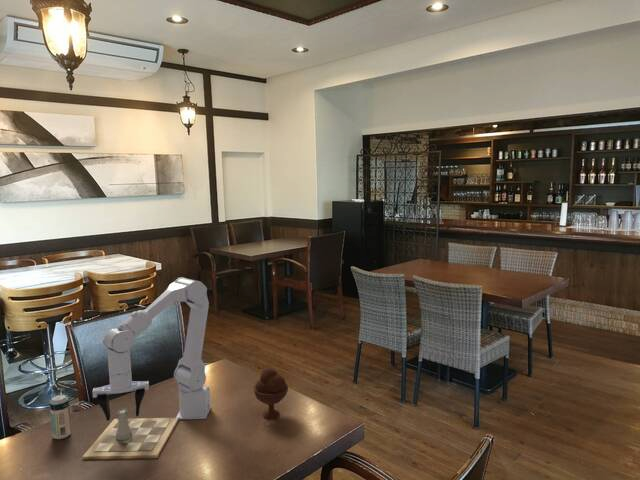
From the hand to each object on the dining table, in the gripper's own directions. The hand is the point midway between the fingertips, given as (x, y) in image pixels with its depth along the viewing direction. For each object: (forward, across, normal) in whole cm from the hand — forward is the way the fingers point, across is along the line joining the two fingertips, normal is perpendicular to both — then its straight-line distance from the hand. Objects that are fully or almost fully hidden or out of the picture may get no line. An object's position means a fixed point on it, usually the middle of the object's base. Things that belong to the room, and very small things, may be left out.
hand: (123, 416), depth 129 cm
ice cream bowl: (+8, -43, -2) cm, 44 cm away
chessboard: (+8, -2, -1) cm, 8 cm away
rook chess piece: (+7, 0, -1) cm, 7 cm away
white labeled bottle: (+8, +18, -10) cm, 22 cm away
